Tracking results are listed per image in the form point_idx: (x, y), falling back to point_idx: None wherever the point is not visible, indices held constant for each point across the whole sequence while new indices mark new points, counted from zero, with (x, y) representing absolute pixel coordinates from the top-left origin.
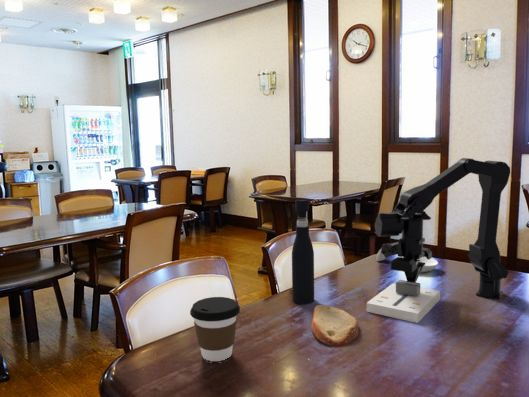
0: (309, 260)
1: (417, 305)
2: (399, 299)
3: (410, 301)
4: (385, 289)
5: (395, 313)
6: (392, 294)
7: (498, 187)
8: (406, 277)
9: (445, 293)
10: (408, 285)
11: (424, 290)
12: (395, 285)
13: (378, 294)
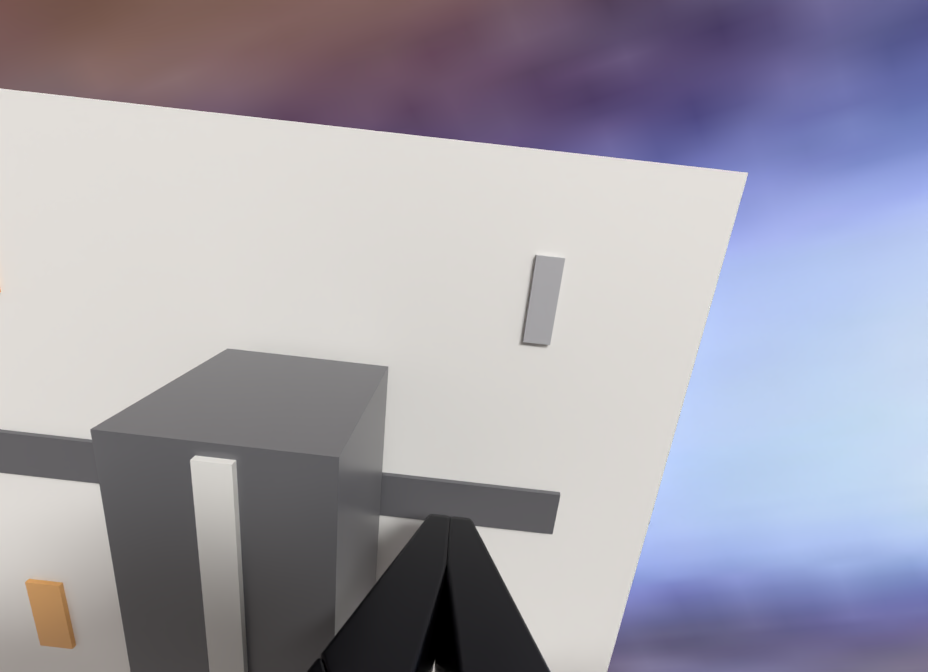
0: None
1: (17, 626)
2: (32, 442)
3: (78, 553)
4: (334, 139)
5: None
6: (167, 311)
7: None
8: (322, 658)
9: (764, 668)
10: (142, 635)
11: (545, 621)
12: (618, 245)
13: (22, 101)
